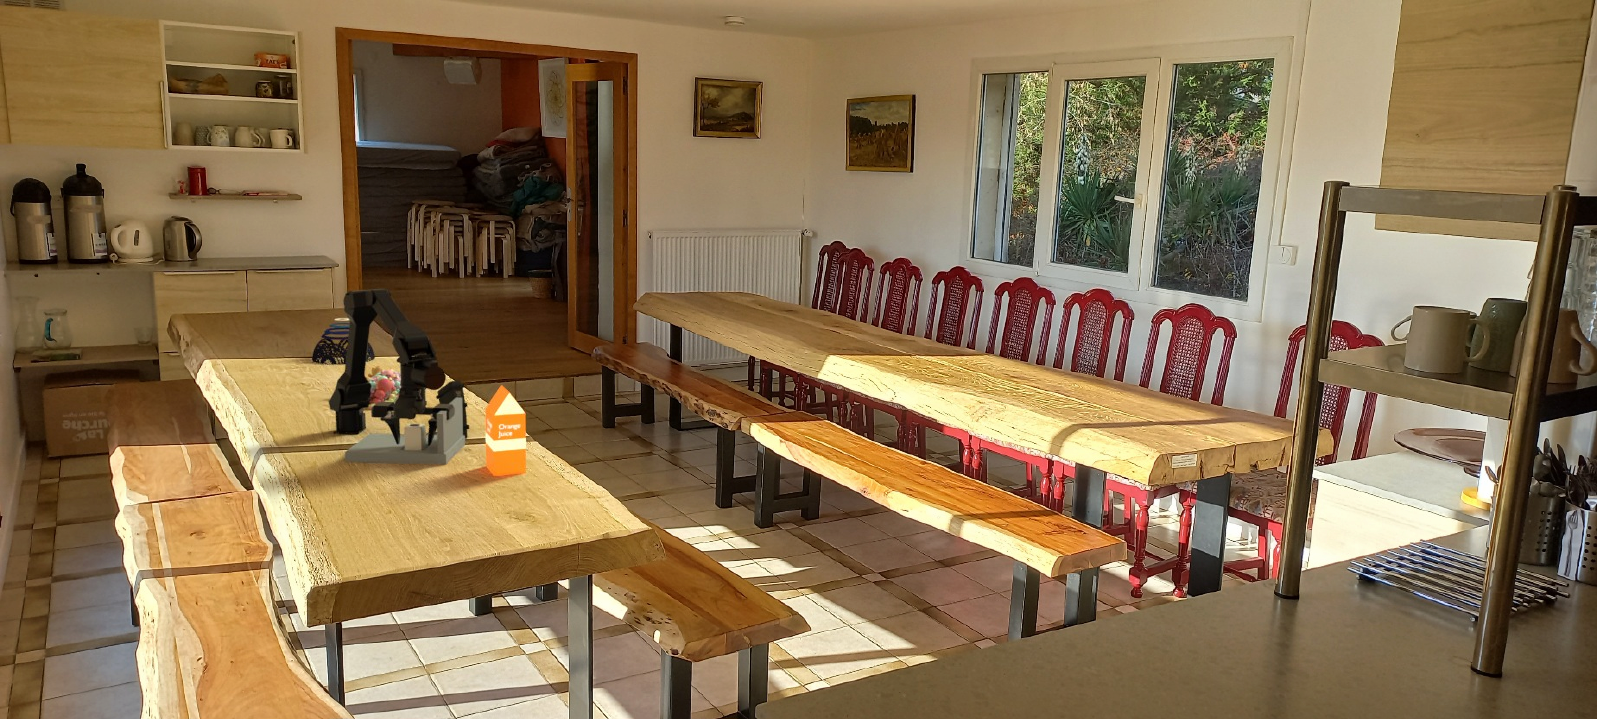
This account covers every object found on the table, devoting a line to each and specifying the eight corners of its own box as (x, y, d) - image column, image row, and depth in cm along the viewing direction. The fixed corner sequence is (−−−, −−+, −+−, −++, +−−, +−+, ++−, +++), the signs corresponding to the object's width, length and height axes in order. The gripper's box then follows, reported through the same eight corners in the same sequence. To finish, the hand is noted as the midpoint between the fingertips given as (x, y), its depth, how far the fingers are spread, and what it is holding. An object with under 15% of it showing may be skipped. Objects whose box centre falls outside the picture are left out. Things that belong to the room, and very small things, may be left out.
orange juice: (493, 476, 261) (492, 393, 258) (485, 466, 269) (484, 385, 265) (526, 472, 265) (526, 390, 261) (518, 463, 272) (517, 383, 269)
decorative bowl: (300, 362, 383) (298, 321, 380) (333, 352, 403) (331, 313, 400) (354, 366, 380) (352, 325, 377) (384, 356, 399) (383, 316, 397)
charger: (405, 458, 272) (404, 426, 271) (409, 454, 276) (409, 422, 275) (421, 459, 273) (420, 426, 271) (426, 454, 277) (425, 422, 275)
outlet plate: (345, 461, 268) (343, 411, 266) (370, 442, 286) (369, 395, 283) (446, 464, 269) (445, 414, 267) (465, 444, 287) (464, 397, 284)
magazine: (460, 436, 288) (449, 381, 291) (443, 447, 298) (433, 393, 301) (474, 434, 291) (463, 379, 293) (456, 445, 301) (446, 392, 303)
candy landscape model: (320, 402, 328) (318, 372, 326) (377, 388, 349) (376, 359, 348) (387, 412, 319) (386, 381, 317) (442, 397, 340) (441, 367, 338)
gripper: (362, 388, 263) (364, 452, 266) (442, 391, 264) (443, 454, 267) (378, 378, 274) (379, 439, 277) (455, 381, 275) (455, 442, 277)
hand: (414, 444), depth 274 cm, fingers open, 7 cm apart
